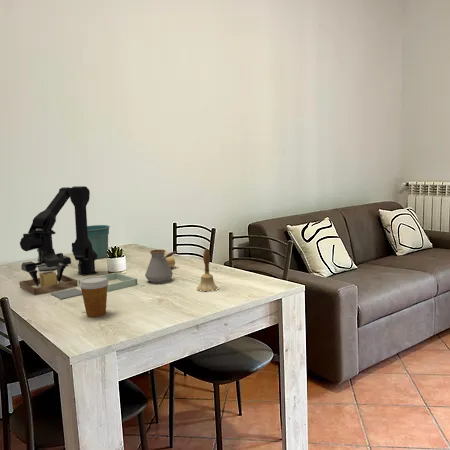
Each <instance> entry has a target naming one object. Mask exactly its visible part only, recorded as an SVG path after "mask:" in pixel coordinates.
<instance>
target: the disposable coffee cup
mask: <svg viewBox="0 0 450 450" xmlns="http://www.w3.org/2000/svg"><path fill="white" fill-rule="evenodd" d="M80 280H81V281H80V284H79V283H78V286H79V287H80V289H81V291H82V295H81V296H82V299H83V304H84V310H85V314H86V317H88V318H99V317H102V316H104V315H106V314H107V300H108V299H107V297H108V292H107V285H108V284H110V280H107V278H106V277H103V276H102V275H97V276H95V275H94V276H88V277H84V278H82V279H80Z"/></svg>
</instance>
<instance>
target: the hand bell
mask: <svg viewBox="0 0 450 450" xmlns="http://www.w3.org/2000/svg"><path fill="white" fill-rule="evenodd" d="M202 258H203V263H204V274H202V275H201V277H200V282H199V285H198V286H197V287H196V290H197V289H198V290H201V291H212V290H216V289H217V288H218V289H219V287H218V286H217V285H216V283H215V281H214V276H213V275H212V273H210V261H211V255H210V251H209V249H208V248H205V249H204V251H203V257H202ZM218 289H217V290H218ZM198 290H197V291H198ZM217 290H216V291H217ZM201 291H200V292H201ZM212 292H213V291H212Z"/></svg>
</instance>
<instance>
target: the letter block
mask: <svg viewBox="0 0 450 450" xmlns="http://www.w3.org/2000/svg"><path fill="white" fill-rule="evenodd" d="M38 274H39V277H38V278H40V284H39V286H40V287H44V286H49V285H54V284H58V283H57V279H56V275H57V272H55V271H54V270H47V271H43V272H42V271H41V272H39V273H38Z"/></svg>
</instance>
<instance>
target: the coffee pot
mask: <svg viewBox="0 0 450 450" xmlns="http://www.w3.org/2000/svg"><path fill="white" fill-rule="evenodd" d="M149 253H150V255H151V258H150V260H149V263H148V266H147V269H146V271H145V275H144V276H145V278H146V279H147V281H149V282H150V283H152V284H163V283H168V282H169V281H170V280H171V279H172V278H173V275H174V273H173V271H172V268H170V266H169V264H168V262H167V260H166V258H167V257H170V256H172V257H173V256H176V257H178V256H179V254H180V251H178V250H174V251H172V252H170V253H167V254H168V255H166V256H164V254H166V250H165V249H153V250H150V251H149ZM177 253H178V255H176V254H177Z"/></svg>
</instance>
